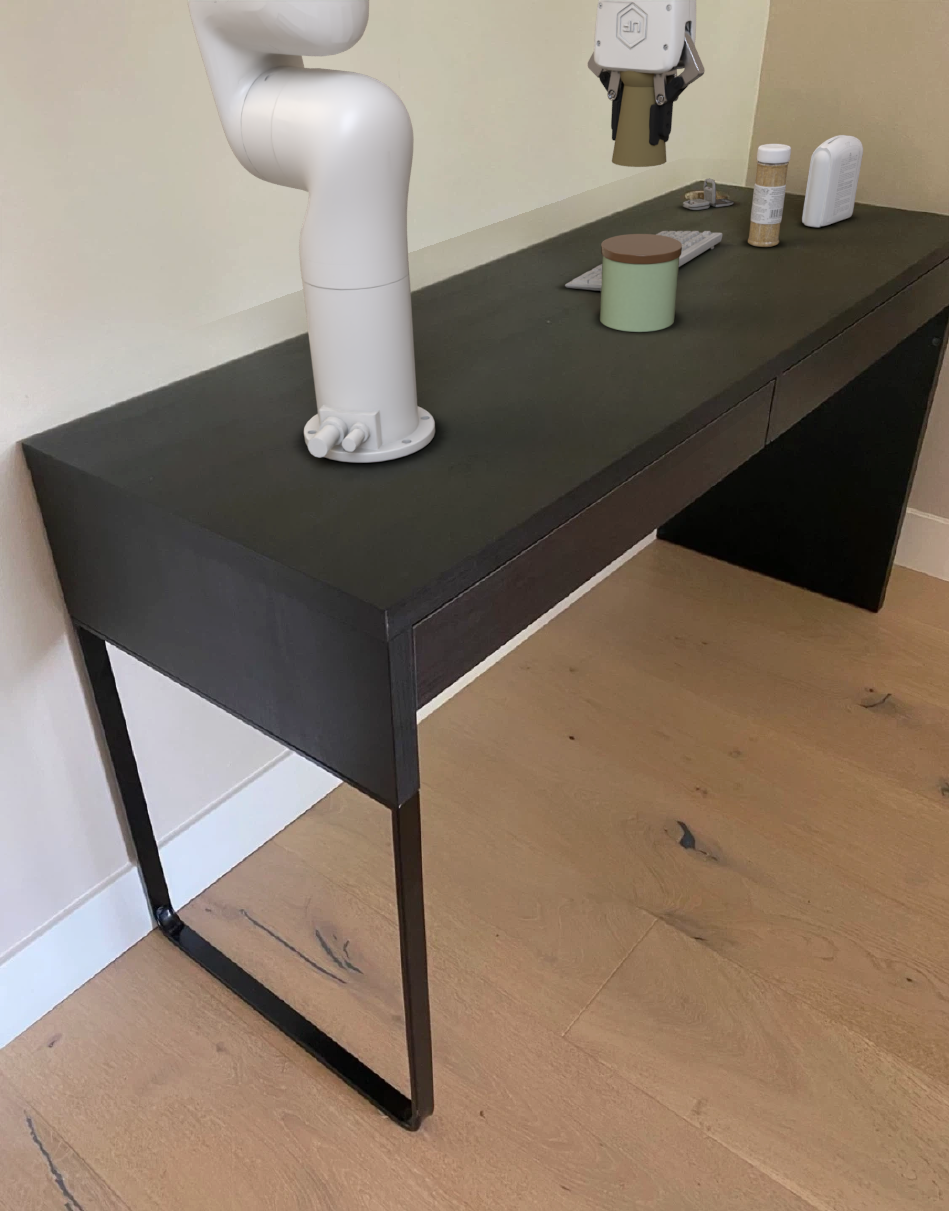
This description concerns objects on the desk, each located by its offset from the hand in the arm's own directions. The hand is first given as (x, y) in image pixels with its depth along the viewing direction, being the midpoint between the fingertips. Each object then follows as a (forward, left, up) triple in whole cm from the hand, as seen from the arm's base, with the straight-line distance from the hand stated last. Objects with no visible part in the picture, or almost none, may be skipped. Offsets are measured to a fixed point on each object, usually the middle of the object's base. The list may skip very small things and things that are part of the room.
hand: (640, 138), depth 114 cm
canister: (+1, -1, -21) cm, 21 cm away
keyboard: (+24, +1, -21) cm, 32 cm away
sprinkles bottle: (+38, -14, -21) cm, 46 cm away
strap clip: (+60, -4, -21) cm, 64 cm away
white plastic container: (+53, -23, -21) cm, 62 cm away
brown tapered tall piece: (0, 0, -2) cm, 2 cm away
